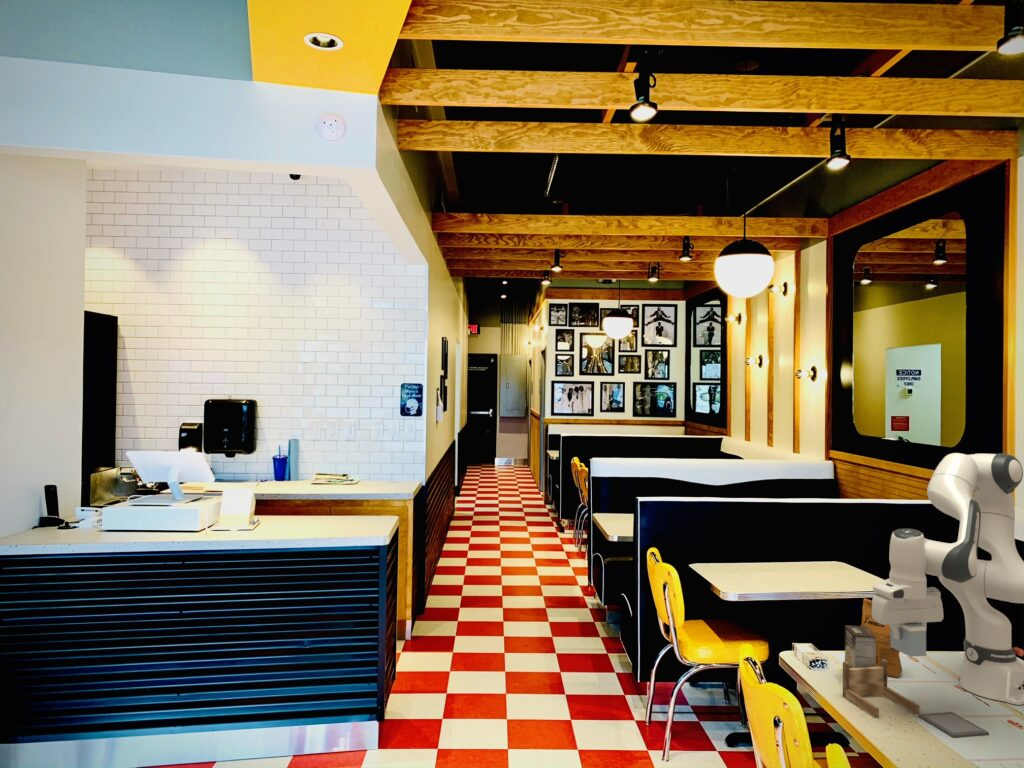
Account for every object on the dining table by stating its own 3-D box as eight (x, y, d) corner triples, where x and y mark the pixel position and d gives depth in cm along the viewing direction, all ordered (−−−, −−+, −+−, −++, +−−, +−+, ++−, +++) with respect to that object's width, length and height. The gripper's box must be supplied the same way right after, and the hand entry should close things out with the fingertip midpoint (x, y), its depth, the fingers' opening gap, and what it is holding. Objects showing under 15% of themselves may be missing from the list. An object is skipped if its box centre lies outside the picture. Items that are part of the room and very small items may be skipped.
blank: (905, 645, 176) (905, 617, 177) (926, 655, 169) (926, 626, 170) (890, 646, 176) (890, 618, 176) (910, 656, 169) (910, 627, 169)
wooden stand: (884, 693, 183) (884, 659, 184) (919, 714, 171) (919, 677, 171) (842, 696, 181) (842, 661, 181) (875, 717, 168) (875, 680, 169)
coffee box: (843, 675, 195) (844, 624, 196) (865, 677, 194) (866, 626, 195) (853, 688, 186) (854, 634, 187) (876, 690, 185) (877, 636, 186)
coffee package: (861, 659, 209) (861, 594, 209) (904, 670, 200) (904, 602, 201) (854, 668, 201) (854, 600, 202) (898, 680, 193) (898, 609, 194)
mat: (951, 713, 172) (951, 711, 172) (989, 734, 161) (989, 732, 161) (917, 716, 170) (917, 714, 170) (953, 737, 159) (953, 735, 159)
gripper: (930, 583, 178) (930, 632, 177) (867, 586, 174) (867, 635, 174) (949, 590, 172) (949, 640, 171) (884, 593, 168) (885, 644, 168)
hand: (908, 638), depth 173 cm, fingers closed on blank, 5 cm apart
